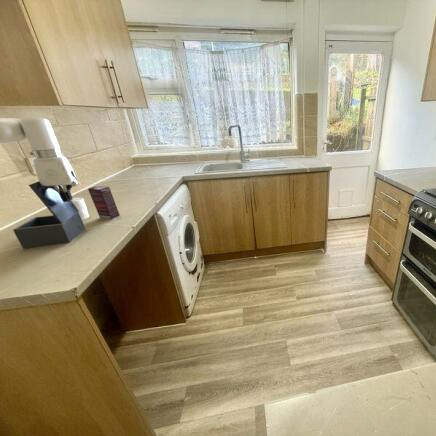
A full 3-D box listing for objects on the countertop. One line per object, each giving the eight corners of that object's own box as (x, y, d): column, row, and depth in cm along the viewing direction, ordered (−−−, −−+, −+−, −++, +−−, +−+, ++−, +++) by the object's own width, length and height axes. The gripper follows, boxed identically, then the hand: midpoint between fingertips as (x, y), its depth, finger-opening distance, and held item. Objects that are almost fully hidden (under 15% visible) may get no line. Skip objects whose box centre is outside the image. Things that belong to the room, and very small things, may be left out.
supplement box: (121, 216, 123) (109, 186, 116) (112, 220, 118) (99, 189, 112) (109, 215, 125) (97, 185, 119) (99, 219, 121) (86, 188, 115)
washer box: (23, 250, 94) (12, 229, 91) (44, 235, 106) (35, 217, 102) (70, 244, 98) (61, 224, 94) (86, 230, 109) (78, 212, 105)
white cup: (67, 220, 120) (58, 202, 116) (84, 214, 127) (76, 196, 122) (77, 222, 117) (68, 203, 113) (94, 216, 124) (86, 197, 120)
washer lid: (28, 185, 87) (30, 184, 87) (50, 176, 98) (52, 176, 98) (60, 223, 94) (62, 223, 94) (77, 212, 105) (79, 211, 105)
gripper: (16, 157, 85) (39, 206, 92) (66, 154, 88) (85, 202, 96) (31, 154, 91) (51, 200, 99) (77, 151, 95) (93, 196, 102)
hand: (68, 200), depth 97 cm, fingers closed
